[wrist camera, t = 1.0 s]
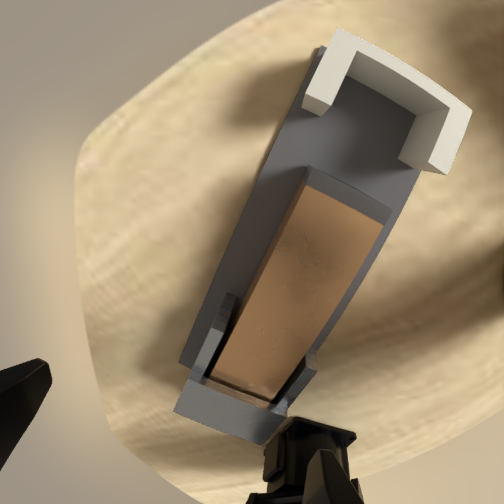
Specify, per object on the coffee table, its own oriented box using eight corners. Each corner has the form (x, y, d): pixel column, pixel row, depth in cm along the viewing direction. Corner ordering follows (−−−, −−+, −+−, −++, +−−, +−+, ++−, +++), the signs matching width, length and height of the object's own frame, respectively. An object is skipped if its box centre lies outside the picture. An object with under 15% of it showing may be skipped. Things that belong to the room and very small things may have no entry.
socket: (436, 116, 15) (472, 110, 11) (413, 168, 16) (446, 175, 12) (326, 54, 14) (337, 27, 10) (301, 107, 16) (305, 93, 12)
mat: (442, 116, 15) (444, 116, 15) (278, 400, 23) (278, 403, 22) (320, 47, 15) (321, 45, 14) (179, 360, 22) (178, 362, 22)
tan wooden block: (371, 197, 17) (393, 210, 13) (261, 383, 21) (256, 422, 18) (307, 164, 16) (313, 167, 13) (210, 362, 21) (196, 399, 18)
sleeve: (313, 329, 20) (317, 379, 15) (267, 395, 22) (261, 445, 17) (227, 291, 20) (208, 334, 15) (193, 365, 22) (172, 411, 17)
